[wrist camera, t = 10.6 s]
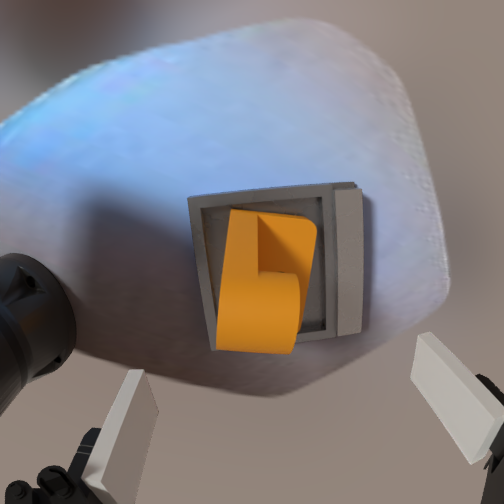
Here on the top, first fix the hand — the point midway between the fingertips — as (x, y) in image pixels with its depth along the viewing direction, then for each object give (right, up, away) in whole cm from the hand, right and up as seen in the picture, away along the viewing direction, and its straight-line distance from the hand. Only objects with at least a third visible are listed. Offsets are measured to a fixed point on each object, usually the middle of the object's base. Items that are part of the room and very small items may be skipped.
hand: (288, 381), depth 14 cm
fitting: (+1, +4, +17) cm, 17 cm away
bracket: (0, +4, +16) cm, 17 cm away
